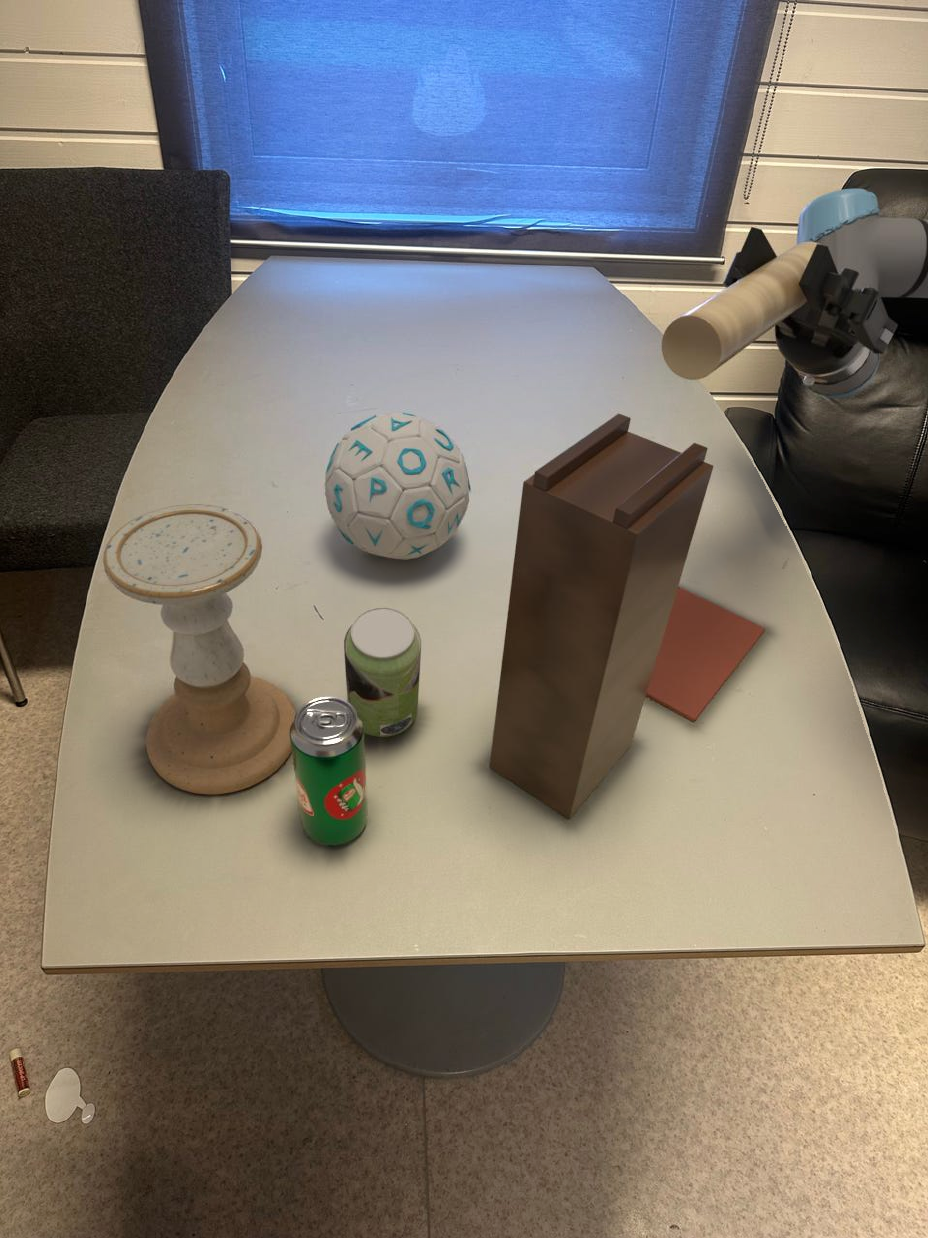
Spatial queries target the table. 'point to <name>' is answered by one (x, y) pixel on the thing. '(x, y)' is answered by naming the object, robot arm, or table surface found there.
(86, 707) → the table surface
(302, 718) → the soda can
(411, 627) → the beverage can
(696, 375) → the wooden dowel rod
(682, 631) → the mat
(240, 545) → the candle holder
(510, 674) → the stand
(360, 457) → the puzzle ball
